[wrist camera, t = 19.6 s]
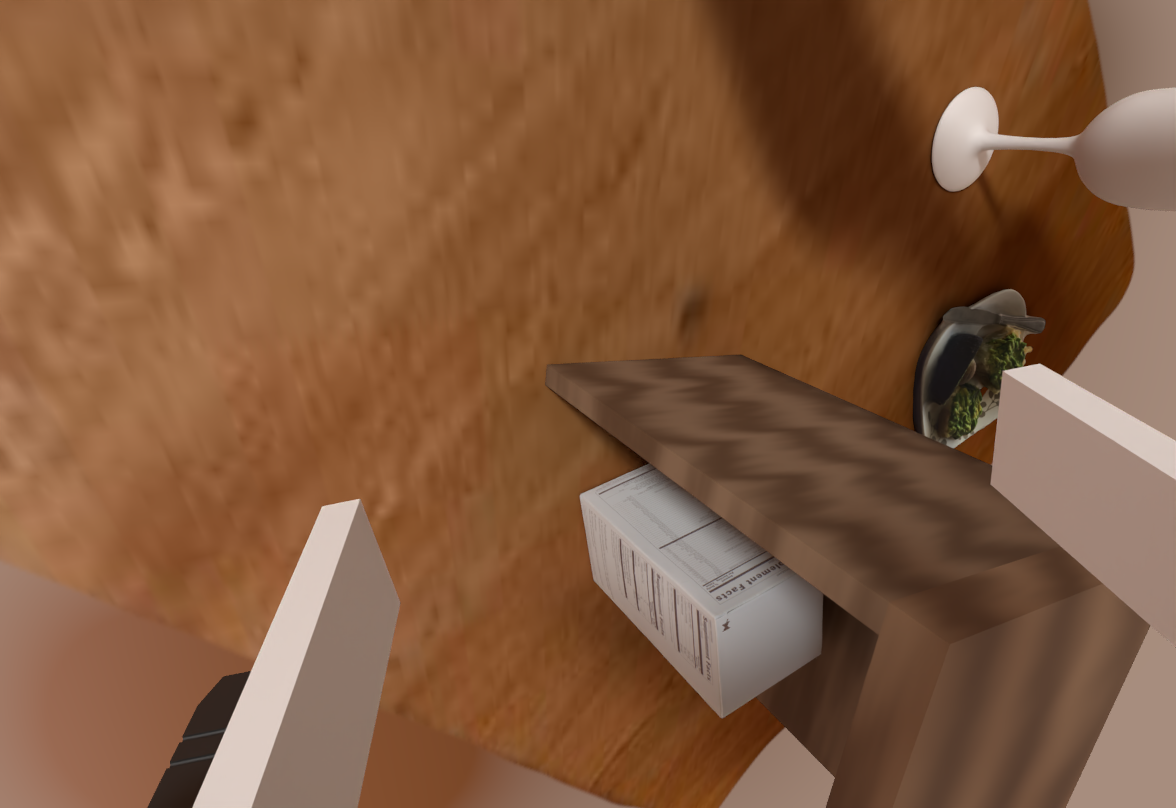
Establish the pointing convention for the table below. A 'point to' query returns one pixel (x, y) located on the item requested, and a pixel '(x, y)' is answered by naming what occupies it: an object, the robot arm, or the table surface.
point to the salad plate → (970, 366)
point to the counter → (888, 584)
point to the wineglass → (1072, 147)
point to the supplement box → (700, 588)
